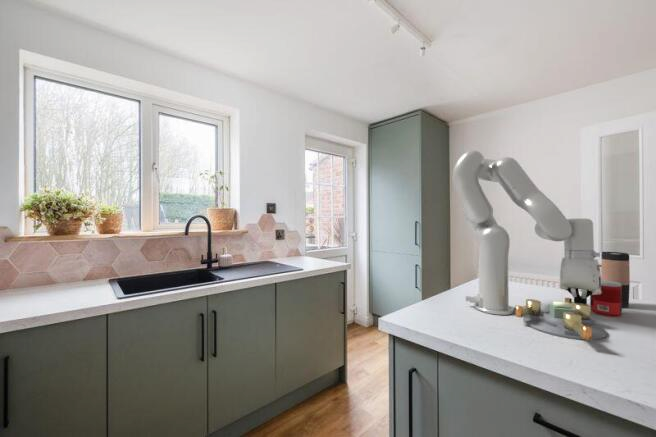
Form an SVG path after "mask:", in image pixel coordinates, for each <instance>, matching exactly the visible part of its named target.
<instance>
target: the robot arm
mask: <svg viewBox="0 0 656 437" xmlns="http://www.w3.org/2000/svg"><path fill="white" fill-rule="evenodd" d="M479 180H482V181H487V182H493V183H499V185H500V186H501V187H502V189H503V190H504V191H505V192H506V195H508V196H509V198H510V200H511V201H512V202H513V203H514V204H515V205H516V206H517V207H519V208H520V209H523V211H525V212H526V213H527V214H528V215H530V216H531V217H532V218H533V220H534V221H535V222H536V224H535V226H534V232H535V234H536V235H537V236H538V237H539V238H541V239H544V240H547V241H552V242H564V243H563V248H564V256H563V257H562V258H561V262H560V270H559V289H561V290H563V291H567V292H568V293H569V294H570V295H571V296H572V298H573V302H574V303H583V304H587V305H588V302H587V301H588V299H587V298H588V297H590V295H598V294H601V293H602V291H601V286H602V282H601V266H600V264H599V261H598V259H595V258H600V257H601V253H600V252H597V251H595V245H594V244H595V243H594V239H595V238H594V223H593V220H592V219H591V218H567V217H566V216H565V215H564V213H563V212H562V211H561V210H560V208H559V206H557V205H556V204H555V203H554V202H553V201H552V200H551V199H550V198H549V197H548V196H547V195H546V194H544V192H543V191H542V190H540V189H539V188H538V186H537V185H535V183H534V182H533V180H532V179H531V178H530V176H529V175H528V174H527V173H526V171H525V170H524V169H523V167H522V166H521V165H520V163H519V162H518V161H517V160H516V159H515V158H513V157H510V156H506V157H501V158H498V160H496V159H488V158H485V156H484V155H483V153H481V152H480V151H478V150H473V149H472V150H468V151H466V152H464V153H463V154H462V155H460V157H459V158H458V160H457V162H456V163H455V165H454V168H453V171H452V184H453V189H454V190H455V192H456V195H457V196H458V199H459V201H460V203H461V205H462V208H463V216H464V218H465V221H466V222H467V224H468V226H469V228H470V230H471V232H472V234H473V236H474V237H475V239H476V241H477V242H478V293H477V295H474V296H470V295H469V296H468V295H465V302H469V303H472V304H473V305H474V308H475V309H476V310H478V311H480V312H482V313H486V314H492V315H498V316H499V315H501V316H505V315H506V316H507V315H508V316H509V315H511V314H514V312H515V310H514V308H513V307H512V306H511V305H510V303H509V295H510V294H509V254H510V253H509V252H510V236H509V233H508V232H507V231H508V230H506V229H505V228H504V227H503V226H501V225H499V224H498V223H497V220H496V219H495V217H494V208H493V206H492V204H491V203H490V201H489V199H488V198H487V196H486V194H485V192H484V190H483V189H482V186H481V184H480V182H479ZM579 290H581V293H580V292H579ZM580 294H581V295H580Z"/></svg>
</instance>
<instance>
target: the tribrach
mask: <svg viewBox="0 0 656 437" xmlns="http://www.w3.org/2000/svg"><path fill="white" fill-rule="evenodd" d="M563 312H573V313H574V310H573V309H572V308H571V305H570V303H566V302H565V301H552V304H549V311H546V312H541V314H540V315H533V314H529V315H526V316H523V317H522V321H523V323H524V324H525V325H526V326H528V327H530V328H532V329H534V330H536V331H539V332H541V333H544V334H547V335H551V336H556V337H559V338H564V339H570V340H578V341H586V340H585V339H583V338H582V337H581V336H580V335H579V334H578V333H577V332H575V331H574V330H569V329H566V328H564V327H563ZM596 322H597V321H596V319H592V318H590V319H589V320H585V319H581V323H582V324H583V325H586V326H590V327H591V328H592V340H591V341H598V340H603V339H605V338H606V336H607V331H606V330H605V329H604V328H603V327H602V326H600V325H598V324H596Z"/></svg>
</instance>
